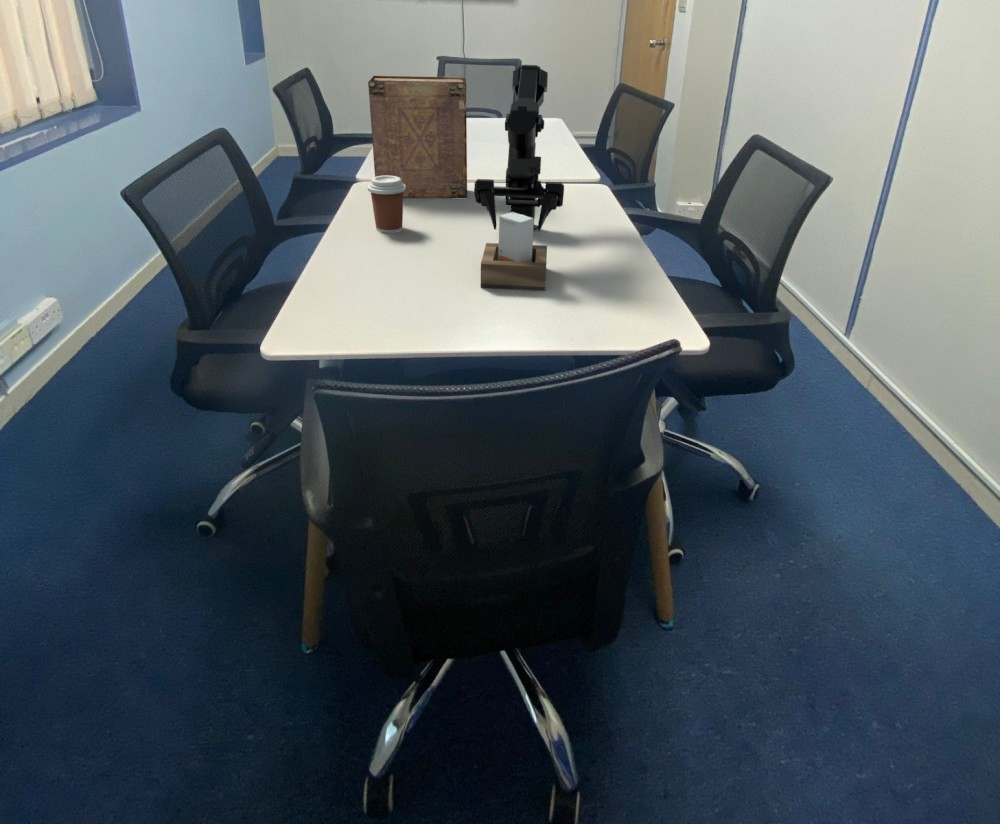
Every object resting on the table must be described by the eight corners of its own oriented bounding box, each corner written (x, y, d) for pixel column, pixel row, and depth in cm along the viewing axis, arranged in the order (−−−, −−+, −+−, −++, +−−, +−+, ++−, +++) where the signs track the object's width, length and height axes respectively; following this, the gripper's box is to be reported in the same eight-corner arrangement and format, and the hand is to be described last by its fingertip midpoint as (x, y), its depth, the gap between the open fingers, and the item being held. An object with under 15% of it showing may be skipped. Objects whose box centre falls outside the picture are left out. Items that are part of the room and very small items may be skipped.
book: (466, 190, 209) (466, 77, 194) (467, 198, 202) (467, 81, 186) (378, 189, 208) (371, 75, 192) (375, 198, 200) (368, 80, 184)
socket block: (486, 265, 156) (486, 242, 154) (545, 268, 156) (547, 245, 153) (480, 287, 145) (480, 263, 143) (544, 290, 145) (546, 266, 142)
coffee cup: (365, 225, 178) (361, 176, 172) (400, 221, 182) (397, 172, 176) (377, 236, 172) (374, 185, 165) (413, 231, 175) (411, 181, 169)
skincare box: (496, 272, 151) (498, 215, 145) (511, 267, 153) (512, 211, 147) (518, 280, 147) (520, 222, 141) (532, 274, 150) (534, 217, 144)
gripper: (475, 138, 146) (469, 208, 143) (567, 142, 146) (563, 212, 142) (478, 169, 157) (473, 234, 154) (564, 172, 156) (560, 238, 153)
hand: (516, 229), depth 150 cm, fingers open, 9 cm apart
